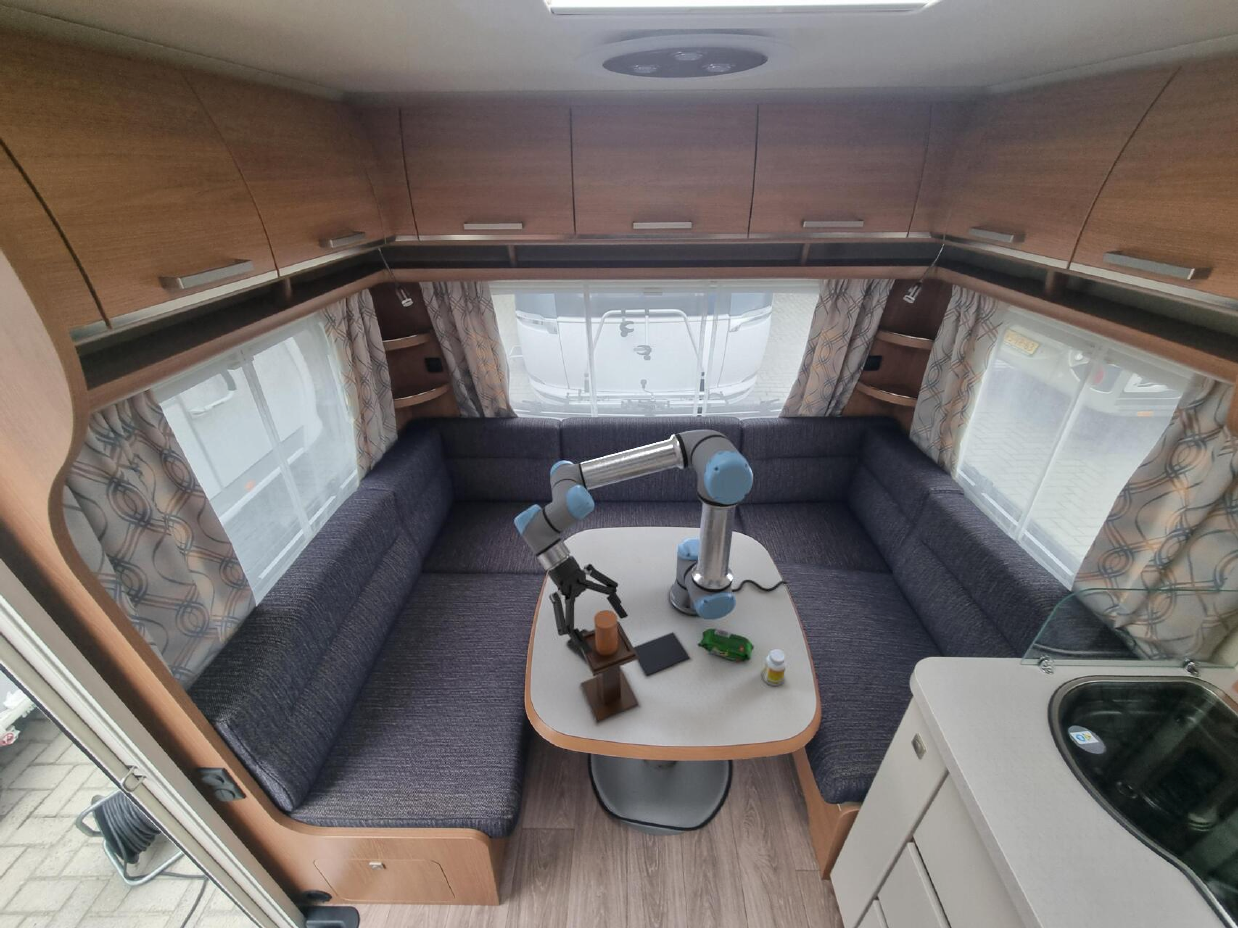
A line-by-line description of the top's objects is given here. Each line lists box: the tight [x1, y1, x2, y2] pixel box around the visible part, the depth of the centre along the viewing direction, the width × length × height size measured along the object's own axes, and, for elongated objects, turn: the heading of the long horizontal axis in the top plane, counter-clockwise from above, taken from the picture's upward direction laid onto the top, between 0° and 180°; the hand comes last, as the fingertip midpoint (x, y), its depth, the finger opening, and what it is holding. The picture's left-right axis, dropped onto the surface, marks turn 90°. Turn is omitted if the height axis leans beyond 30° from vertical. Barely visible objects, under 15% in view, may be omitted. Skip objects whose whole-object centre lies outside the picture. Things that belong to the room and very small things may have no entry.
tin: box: [593, 609, 618, 656], centre depth 121 cm, size 6×6×10 cm
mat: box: [633, 632, 690, 677], centre depth 144 cm, size 14×10×1 cm
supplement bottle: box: [762, 648, 787, 686], centre depth 135 cm, size 5×5×10 cm
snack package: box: [697, 628, 755, 663], centre depth 144 cm, size 7×16×5 cm, turn 69°
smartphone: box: [566, 628, 590, 663], centre depth 145 cm, size 8×1×16 cm
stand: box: [580, 620, 639, 724], centre depth 128 cm, size 12×12×21 cm
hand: (607, 634), depth 120 cm, fingers open, 13 cm apart
